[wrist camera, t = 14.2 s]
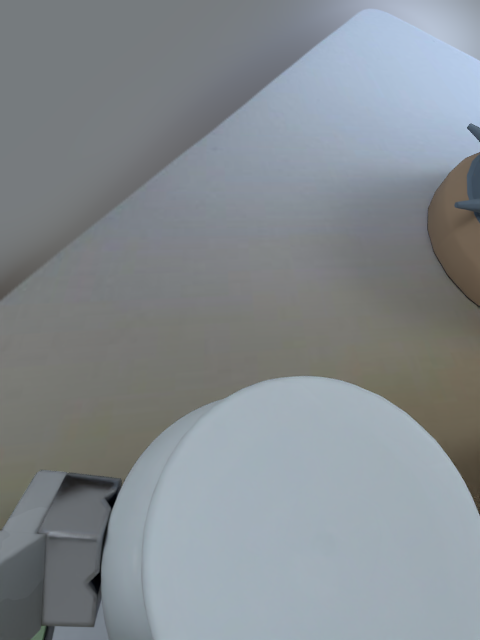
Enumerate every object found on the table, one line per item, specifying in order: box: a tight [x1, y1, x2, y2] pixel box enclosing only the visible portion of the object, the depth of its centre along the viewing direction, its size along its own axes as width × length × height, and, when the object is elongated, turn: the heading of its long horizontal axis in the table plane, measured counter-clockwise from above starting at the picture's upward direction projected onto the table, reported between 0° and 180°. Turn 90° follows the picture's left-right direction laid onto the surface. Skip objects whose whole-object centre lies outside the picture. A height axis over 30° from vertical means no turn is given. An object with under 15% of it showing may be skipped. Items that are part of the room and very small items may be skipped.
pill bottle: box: [101, 376, 480, 640], centre depth 9 cm, size 5×5×10 cm
